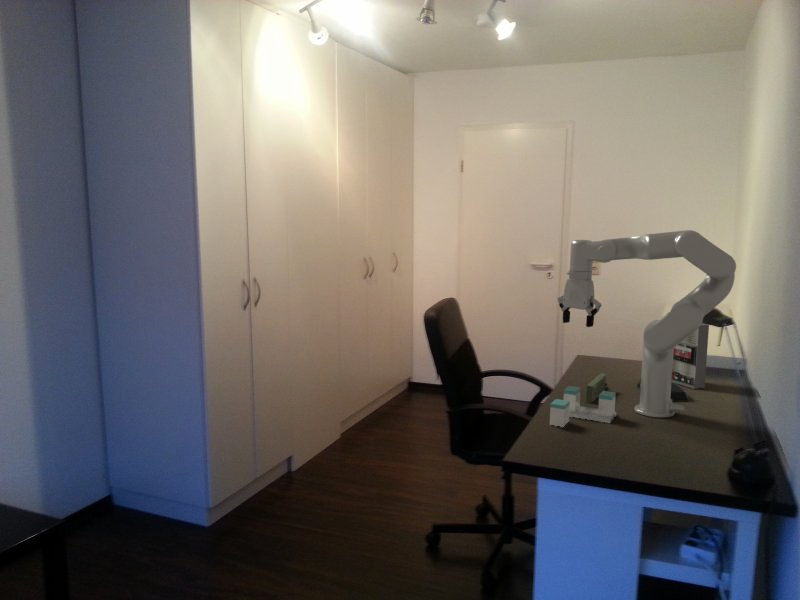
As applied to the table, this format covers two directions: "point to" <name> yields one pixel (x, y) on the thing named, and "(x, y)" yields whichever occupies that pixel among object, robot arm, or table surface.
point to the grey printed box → (691, 359)
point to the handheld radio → (595, 388)
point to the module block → (559, 412)
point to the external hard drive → (673, 392)
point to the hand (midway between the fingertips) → (577, 324)
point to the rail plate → (601, 414)
